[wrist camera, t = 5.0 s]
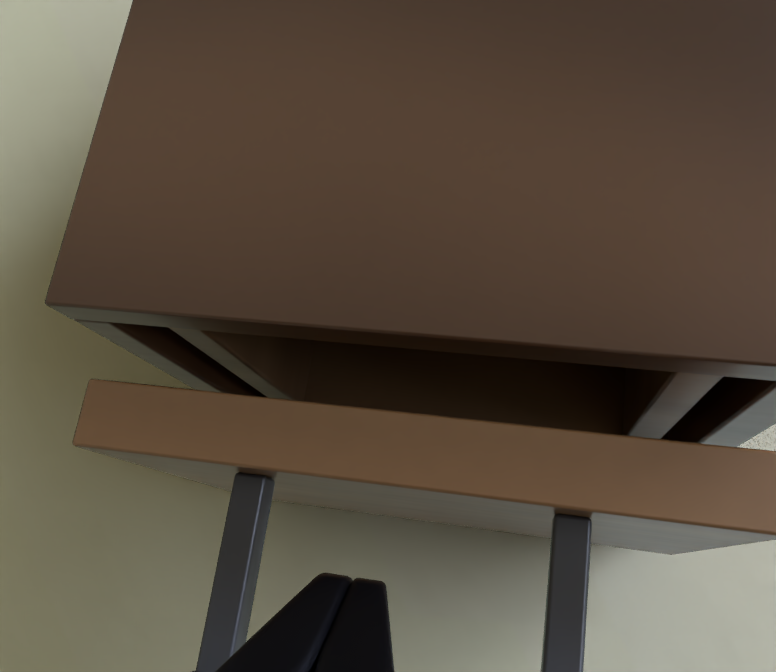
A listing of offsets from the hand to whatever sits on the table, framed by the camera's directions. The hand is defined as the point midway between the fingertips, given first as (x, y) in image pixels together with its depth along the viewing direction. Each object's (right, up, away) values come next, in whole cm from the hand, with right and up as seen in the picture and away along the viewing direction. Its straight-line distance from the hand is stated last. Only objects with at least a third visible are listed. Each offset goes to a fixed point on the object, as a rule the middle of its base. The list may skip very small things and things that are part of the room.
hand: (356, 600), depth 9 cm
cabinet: (+3, +6, +14) cm, 16 cm away
